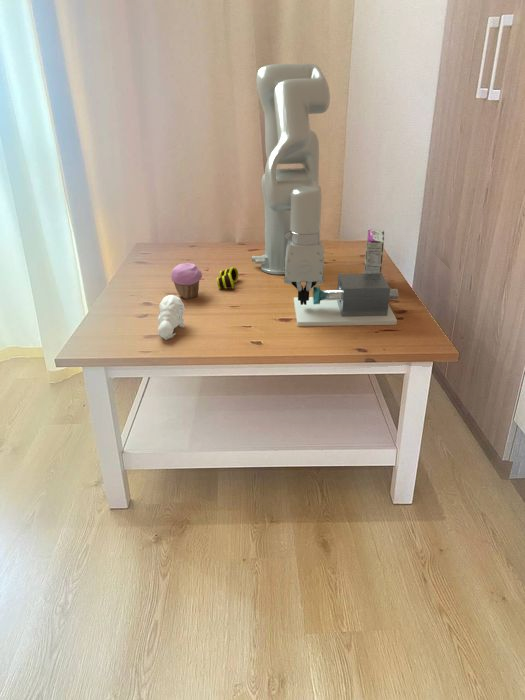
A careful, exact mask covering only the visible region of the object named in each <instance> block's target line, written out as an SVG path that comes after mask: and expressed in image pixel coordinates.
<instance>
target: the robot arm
mask: <svg viewBox="0 0 525 700" xmlns="http://www.w3.org/2000/svg"><path fill="white" fill-rule="evenodd" d="M256 88H257V93H258V98H259V100H260V103H261V107H262V109H263V113H264V132H265V133H264V138H265V141H264V142H265V143H264V144H265V155H266V163H265V167H264V174H263V175H262V177H261V184H260V185H261V190H262V191H261V192H262V198H263V206H264V252H263V254H260V256H259V255H258V256H257V255H251V263H255V265H257V264H260V270H261V271H262V272H264V273H267V274H272V275H284V278H283V283H284V284H288V285H292V286H293V287H294V288H295V289H296V290H297V297H298V301H300V303H301V305H303V302H304V305H306V302H307V301H309V297H310V291H311V290H312V289H313V287H314V286H317V285H319V284H323V283H325V279H324V277H325V253H324V244H323V242H322V241H321V220H322V188H321V186H320V185H319V181H320V179H319V177H320V176H319V174H320V173H319V172H320V171H319V169H320V165H319V164H320V143H319V138H318V136H317V134H316V133H315V131H313V130H311V127H310V116H309V115H313V114H314V115H315V114H316V115H317V114H324V113H326V112H327V111H328V109H329V106H330V103H331V93H330V88H329V84H328V81H327V79H326V77H325V75H324V74H323V72H322V70H321V68H320V67H319V66H318V65H317V64H314V63H275V64H273V63H272V64H268V65H265V66H262V67H261V68H259V69H258V71H257V74H256ZM297 164H301V165H302V167H299V168H296V167H295V168H294V167H293V168H292V167H291V168H290V167H289V168H277V166H278V165H297ZM302 283H305V285H304V287H303V285H302Z"/></svg>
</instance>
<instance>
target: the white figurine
mask: <svg viewBox="0 0 525 700" xmlns="http://www.w3.org/2000/svg"><path fill="white" fill-rule="evenodd" d="M158 307H159V310H160V312H159V315H158V317H157V324H158V328H157V334H158V335H159V337H161V338H162V339H164V340H165V341H167V340H169V339H172V338H173V337H174V336H175V335H176V332H175V333H173V332H174V329H176V328H177V327H178V326H179V327H180V328H184V327H185V324H184V318H183V317H184V313H185V304H184V303H183V301H182V299H181V298H180V297H179V296H177V295H174V294H169V295H166V296H164V297H163V298H162V300H161V301H160V303H159V306H158Z"/></svg>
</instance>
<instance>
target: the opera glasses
mask: <svg viewBox="0 0 525 700" xmlns="http://www.w3.org/2000/svg"><path fill="white" fill-rule="evenodd" d="M238 279H239V271H238V268H237V267H235V266H232V267H230V268H226V269H224V270H220V271H219V277H217V278H216V282H217V287H218V290H221V289H225V290H226V289H232V290H234V289H235V285H234V284H235V283H237V282H238Z"/></svg>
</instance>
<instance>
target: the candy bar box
mask: <svg viewBox="0 0 525 700" xmlns="http://www.w3.org/2000/svg"><path fill="white" fill-rule="evenodd" d="M366 237H367V238H366V245H365V257H364V271H363V274H375V273H382V268H383V257H384V245H385V244H384V243H385V242H384V241H385V229H384V230H383V229H367V236H366Z"/></svg>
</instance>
